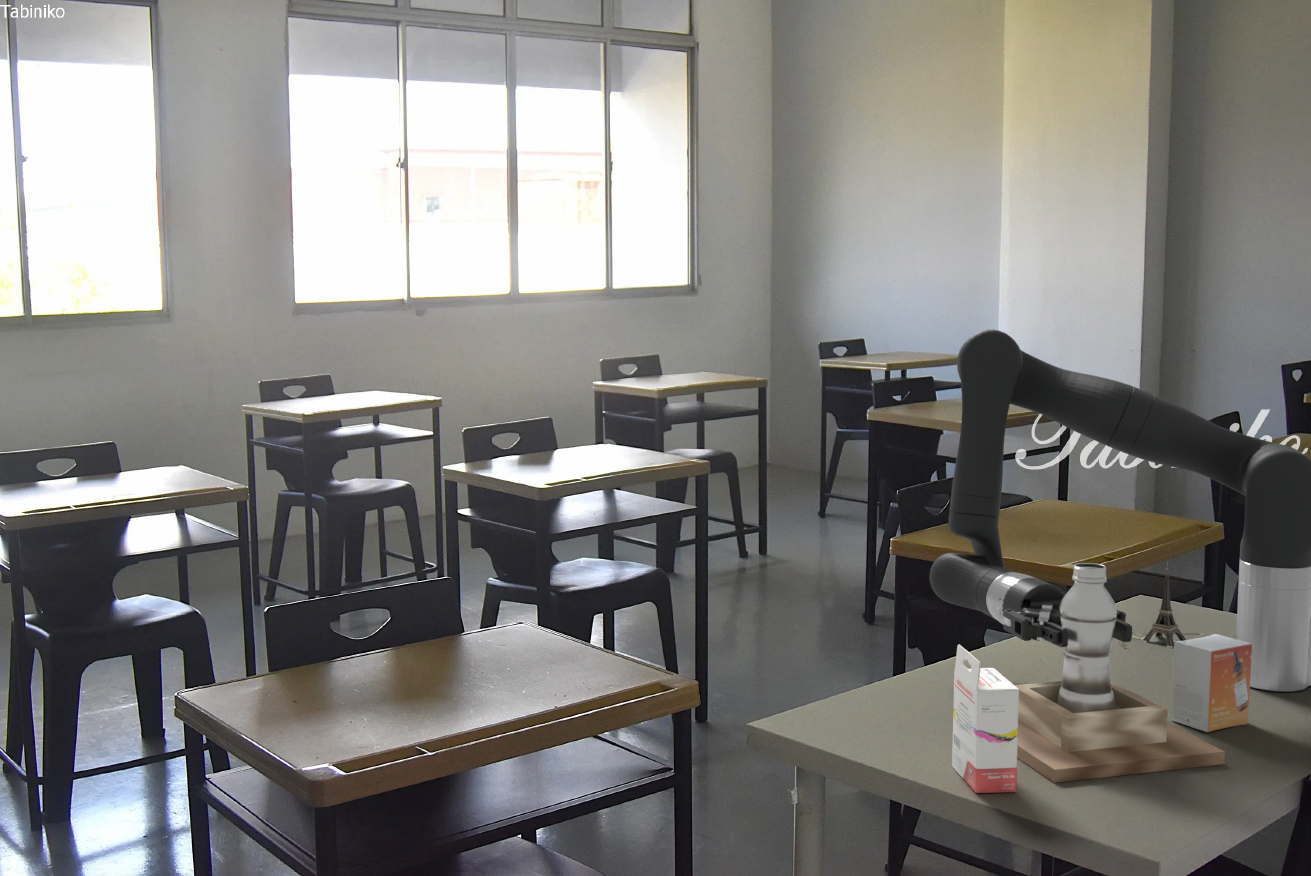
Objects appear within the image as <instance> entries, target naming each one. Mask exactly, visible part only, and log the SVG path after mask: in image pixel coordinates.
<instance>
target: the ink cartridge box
mask: <svg viewBox="0 0 1311 876" xmlns="http://www.w3.org/2000/svg"><path fill="white" fill-rule="evenodd" d="M956 647H957V648H956V656H955V664H954V665H955V666H954V671H953V676H954V677H953V711H952V712H953V716H952V718H953V719H952V748H951V749H952V751H951V754H952V755H951V756H952V757H951V758H952V759H951V766H952V768H953V769H954V770H955V772H956V773H958V775H959V777H961V779H963V780H964V782H965V783H966V784H967V785H968V786H969V787H970V788H971V790H973V791H974V792H975V793H976V794H979V793H980V794H987V793H988V794H989V793H994V794H995V793H1016V792H1017V781H1018V777H1017V775H1018V758H1017V742H1018V705H1019V689H1018V688H1017V687H1016V686H1015V685H1016V684H1013V683H1012V682H1011V681H1009V679H1007V678H1006V677H1005V676H1004V675H1003V674H1002V673H1000V672H999V671H998V670H997V669H995V667H982V666H981V665H982V664H981V661H980V660H978V659H977V658H976V656H974V655H973V654H971V653H970V652H969V651H968V650H967V649H965V648H964V647H963V646H962V645H961V644H957V646H956ZM965 662H968V664H969V666H970V668H968V667H967V666H966V665H965Z"/></svg>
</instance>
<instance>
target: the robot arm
mask: <svg viewBox="0 0 1311 876" xmlns="http://www.w3.org/2000/svg"><path fill="white" fill-rule="evenodd" d="M956 360H957V361H956V363H957V365H956V366H957V368H956V369H957V374H958V377H959V380H960V388H961V422H960V423H961V424H960V435H959V443H958V448H957V455H956V459H955V466H954V472H953V478H952V484H951V485H952V486H951V496H950V502H949V503H950V505H949V515H948V528H949V531H950V532H951V534H953V535H955V536H958V537H961V538H964V539H967V541H968V540H969V542H970V543H971V546H972V549H973V551H974V554H967V553H959V552H958V553H957V552H948V553H947V552H946V553H944V554H941V555H940V556H938V558H937V559H936V560H935V561H934V562H933V563H932V565H931V567H930V569H929V570H930V571H929V583H930V586H931V589H932V591H933V592H934V593H935V595H936V596H937V597H938V598H939V599H940V600H942V601H943V602H945V603H948V604H951V605H955V606H959V607H962V608H967V609H970V610H974V611H979V612H981V613H982V614H985V615H986V616H988V617H991V618H992V619H994V620H996V621H998V622H999V623H1000V624H1001V625H1003V630H1004V631H1006V632H1008V633H1010V634H1012V635H1013V636H1015V637H1016V638H1019V639H1020V640H1022V641H1025V642H1028V641H1029V642H1030V641H1031V640H1034V641H1037V642H1046V641H1047V642H1048V643H1051V644H1053V645H1055V646H1057V647H1058V648H1059V647H1060V648H1063V647H1067V646H1068V631H1067V629H1065V628H1063V627H1062V625H1061V618H1060V616H1061V615H1060V604H1061V601H1062V599H1063V597H1064V596H1065V595H1066V593H1065V592H1064V590H1062V589H1061V588H1060V587H1058V586H1057V585H1054V584H1051V583H1050V582H1049V583H1048V582H1047V581H1044V580H1041V579H1039V578H1036V577H1034V576H1031V575H1028V574H1025V573H1019V572H1016V571H1015V570H1012V569H1009V568H1006V567H1005V562H1004V558H1003V552H1002V547H1001V539H1000V534H999V533H1000V531H999V521H1000V518H999V517H1000V513H1001V512H1000V511H1001V510H1000V509H1001V503H1002V502H1001V501H1002V493H1003V491H1002V490H1003V475H1004V474H1003V473H1004V451H1005V438H1006V437H1005V435H1006V426H1007V423H1008V422H1007V420H1008V414H1009V410H1010V405H1013V406H1015V407H1019V408H1023V409H1025V410H1028V411H1031V412H1034V413H1037V414H1040V415H1042V416H1044V417H1046V418H1048V419H1051V420H1052V421H1054V422H1056V423H1058V424H1060V425H1062V426H1064V427H1065V428H1067V429H1069V430H1071V431H1074V432H1076V433H1077V434H1080V435H1082V436H1083V437H1086V438H1089V439H1091V440H1093V441H1095V442H1097V443H1099V444H1102V445H1103V446H1107V447H1109V448H1112V449H1114V450H1116V451H1118V452H1121V453H1124V454H1127V455H1129V456H1132V457H1135V458H1138V459H1140V460H1144V461H1147V462H1150V463H1154V464H1159V465H1163V466H1166V467H1172V468H1177V469H1180V470H1184V471H1188V472H1189V471H1190V472H1193V473H1195V474H1199V475H1202V476H1203V477H1206V478H1208V479H1211V480H1213V481H1215V482H1217V483H1220V484H1221V485H1224V486H1226V487H1227V488H1230V489H1231V490H1233V491H1235V492H1237V493H1239V494H1241V495H1243V496H1244V497H1245V504H1244V525H1243V533H1242V537H1241V541H1240V544H1239V545H1240V546H1239V569H1238V591H1237V592H1238V594H1237V617H1236V633H1235V634H1236V637H1235V639H1237V640H1241V641H1244V642H1248V643H1251V644H1252V657H1251V677H1250V688H1254V689H1260V690H1263V691H1264V690H1265V691H1272V692H1298V691H1303V690H1305V689H1306V688H1308V687H1310V686H1311V458H1309V457H1308V456H1307V455H1306V454H1305V453H1303V452H1301V451H1300V450H1299V449H1296V448H1294V447H1291V446H1289V445H1286V444H1282V443H1281V444H1280V443H1275V442H1272V441H1269V440H1264V439H1260V438H1257V437H1253V436H1249V435H1247V434H1243V433H1240V432H1236V431H1234V430H1230V429H1228V428H1225V427H1224V426H1223V427H1222V426H1219V425H1218V424H1215V423H1213V422H1211V421H1209V420H1207V419H1205V418H1204V417H1202V416H1200V415H1198V414H1196V413H1195V412H1193V411H1191V410H1189V409H1187V408H1185V407H1183V406H1180V405H1179V404H1177V403H1174V402H1173V401H1170V400H1168V399H1166V398H1163V397H1161V396H1159V395H1157V394H1154V393H1151V392H1148V391H1146V390H1143V389H1141V388H1138V387H1136V386H1133V385H1130V384H1127V383H1124V382H1121V381H1118V380H1113V379H1110V378H1106V377H1102V376H1098V375H1092V374H1088V373H1087V374H1086V373H1082V372H1077V371H1073V370H1068V369H1064V368H1062V367H1059V366H1055V365H1053V364H1050V363H1048V362H1046V361H1045V360H1042V359H1039V358H1038V357H1036V356H1033V355H1032V354H1029V353H1027V352H1025V351H1023V350H1022V349H1021V348H1020V346H1019V344H1018V343H1017V341H1016V340H1015V339H1014V338H1012V337H1011V336H1010V335H1009V334H1008V333H1006V332H1004V331H1001V330H997V329H985V330H980V331H978V332H976V333H974V334H972V335H971V336H969V337H968V338H967V340H965V342H963V344H962V345H961V347H960V349H959V352H958V354H957V359H956ZM1126 618H1127V613H1126V612H1125V611H1123V610H1118V609H1117V616H1116V619H1115V620H1116V622H1115V628H1114V634H1113V639H1115V640H1118V641H1120V642H1121V643H1130V642H1132V640H1131V638H1132V633H1133V625H1131V624H1130V623H1128V622H1126Z"/></svg>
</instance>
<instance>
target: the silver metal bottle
mask: <svg viewBox="0 0 1311 876" xmlns="http://www.w3.org/2000/svg"><path fill="white" fill-rule="evenodd" d="M1071 577H1072V578H1071V580H1072V581H1074V582H1073V583H1074V584H1073V585H1072V586H1071V588H1070V589H1069V590H1068V591H1067V592H1066V593H1065V596H1064V597H1063V599H1062V601H1061V604H1060V615H1061V616H1060V618H1061V625H1062V627H1063V628H1065V629H1067V631H1068V646H1067V647H1062V649H1063V665H1062V675H1061V681H1062V682H1061V685H1062V686H1061V687H1060V690H1059V695H1058V702H1057V704H1058V705H1059V706H1061V707H1063V708H1065V709H1066V710H1068V711H1070V712H1072V713H1083V712H1094V711H1104V710H1115V702H1114V695H1113V691H1112V682H1113V681H1112V670H1111V669H1112V668H1111V661H1112V655H1111V654H1112V649H1113V648H1112V647H1113V639H1114V638H1113V634H1114V628H1115V622H1116V620H1115V619H1116V616H1117V610H1118V609H1117V606H1116V602H1115V601H1114V599H1113V598H1112V596H1111V594H1110V593H1109V591H1108V590H1107V588H1106V587H1105V583H1107V580H1108V578H1107V566H1106V565H1104V564H1101V563H1093V562H1078V563H1074V564H1073V574H1072V576H1071Z"/></svg>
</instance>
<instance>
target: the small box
mask: <svg viewBox="0 0 1311 876" xmlns="http://www.w3.org/2000/svg"><path fill="white" fill-rule="evenodd" d="M1251 657H1252V644H1251V643H1248V642H1244V641H1241V640H1237V639H1236V638H1233V637H1230V636H1226V635H1222V634H1217V633H1213V634H1211V635H1207V636H1206V635H1205V637H1199V638H1196V637H1194V638H1190V639H1186V640H1184V641H1175V642H1174V648H1173V668H1172V669H1173V671H1172V672H1173V673H1172V687H1171V688H1172V691H1171V693H1172V694H1171V716H1170V719H1171V721H1172V722H1175V723H1179V724H1181V725H1184V726H1188V727H1189V728H1192V729H1196V730H1198V731H1201V732H1204V733H1210V732H1213V731H1217V730H1222V729H1226V728H1232V727H1237V726H1242V725H1247V724H1248V723H1249V715H1250V714H1249V711H1250V693H1251V692H1250V691H1251V687H1250V677H1251Z"/></svg>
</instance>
